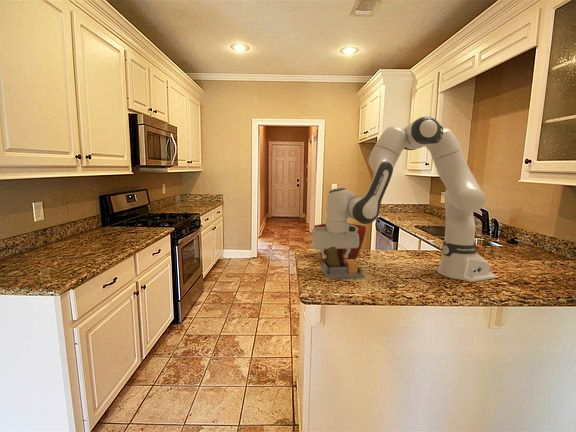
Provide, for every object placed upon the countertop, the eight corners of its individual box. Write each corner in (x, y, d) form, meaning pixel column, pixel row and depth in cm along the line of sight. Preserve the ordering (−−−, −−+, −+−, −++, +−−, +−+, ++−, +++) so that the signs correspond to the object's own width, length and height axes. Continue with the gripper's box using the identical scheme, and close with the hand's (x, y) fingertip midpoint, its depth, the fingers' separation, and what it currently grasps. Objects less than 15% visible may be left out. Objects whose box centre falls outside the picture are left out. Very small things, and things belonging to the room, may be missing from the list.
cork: (344, 267, 129) (340, 243, 127) (336, 272, 124) (332, 247, 122) (332, 265, 133) (328, 242, 131) (324, 271, 128) (320, 246, 126)
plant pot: (312, 256, 154) (313, 224, 152) (337, 251, 166) (338, 221, 163) (340, 266, 139) (341, 231, 137) (365, 259, 151) (367, 226, 149)
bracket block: (352, 267, 133) (352, 258, 132) (357, 272, 127) (357, 263, 126) (343, 267, 132) (344, 259, 131) (348, 272, 126) (348, 263, 126)
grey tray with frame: (352, 268, 137) (352, 258, 136) (363, 278, 124) (364, 267, 123) (320, 269, 134) (321, 259, 134) (329, 279, 122) (329, 269, 121)
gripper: (314, 228, 121) (313, 261, 123) (361, 227, 124) (360, 259, 126) (310, 225, 127) (309, 257, 129) (356, 225, 130) (354, 255, 132)
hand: (334, 258), depth 128 cm, fingers open, 8 cm apart
